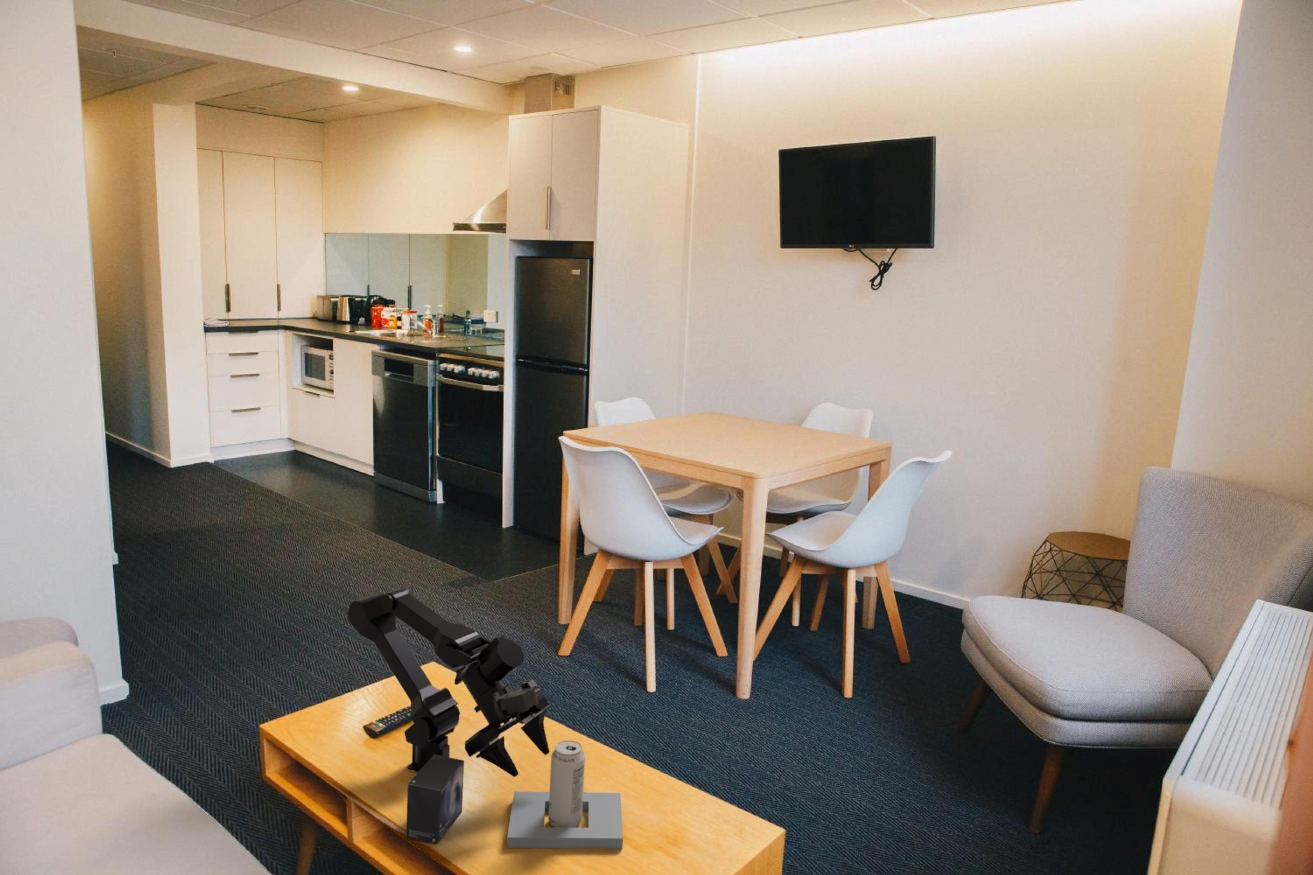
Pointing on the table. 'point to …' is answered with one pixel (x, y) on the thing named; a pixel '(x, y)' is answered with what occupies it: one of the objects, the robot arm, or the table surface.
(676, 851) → the table surface
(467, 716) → the table surface
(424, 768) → the small box
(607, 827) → the hole board
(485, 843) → the table surface
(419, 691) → the robot arm
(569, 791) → the energy drink can
